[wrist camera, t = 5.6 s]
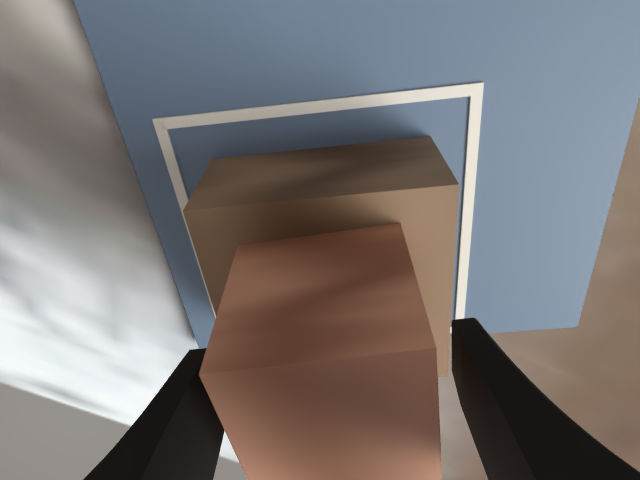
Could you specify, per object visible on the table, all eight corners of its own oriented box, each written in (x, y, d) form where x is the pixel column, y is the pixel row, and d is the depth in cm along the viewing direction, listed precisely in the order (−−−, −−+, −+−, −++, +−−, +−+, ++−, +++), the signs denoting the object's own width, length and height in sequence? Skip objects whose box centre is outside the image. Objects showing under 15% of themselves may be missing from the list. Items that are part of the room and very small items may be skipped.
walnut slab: (430, 136, 16) (459, 184, 12) (426, 306, 20) (447, 376, 17) (211, 158, 16) (182, 211, 13) (253, 319, 21) (239, 390, 17)
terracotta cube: (400, 222, 13) (436, 347, 9) (410, 342, 16) (442, 482, 12) (237, 245, 14) (198, 374, 9) (273, 358, 16) (256, 497, 12)
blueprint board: (673, -98, 13) (695, -102, 12) (569, 315, 21) (578, 328, 21) (79, -19, 14) (65, -17, 13) (204, 342, 23) (200, 356, 22)
